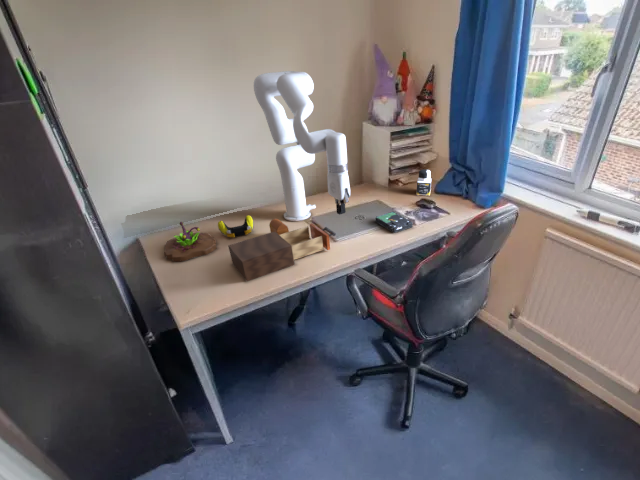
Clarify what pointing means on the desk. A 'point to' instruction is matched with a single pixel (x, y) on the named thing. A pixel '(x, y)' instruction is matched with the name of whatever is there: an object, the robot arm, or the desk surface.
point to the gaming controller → (236, 228)
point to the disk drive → (393, 222)
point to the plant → (189, 245)
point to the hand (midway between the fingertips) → (341, 213)
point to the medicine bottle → (424, 182)
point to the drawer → (308, 240)
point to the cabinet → (261, 255)
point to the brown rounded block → (278, 227)
